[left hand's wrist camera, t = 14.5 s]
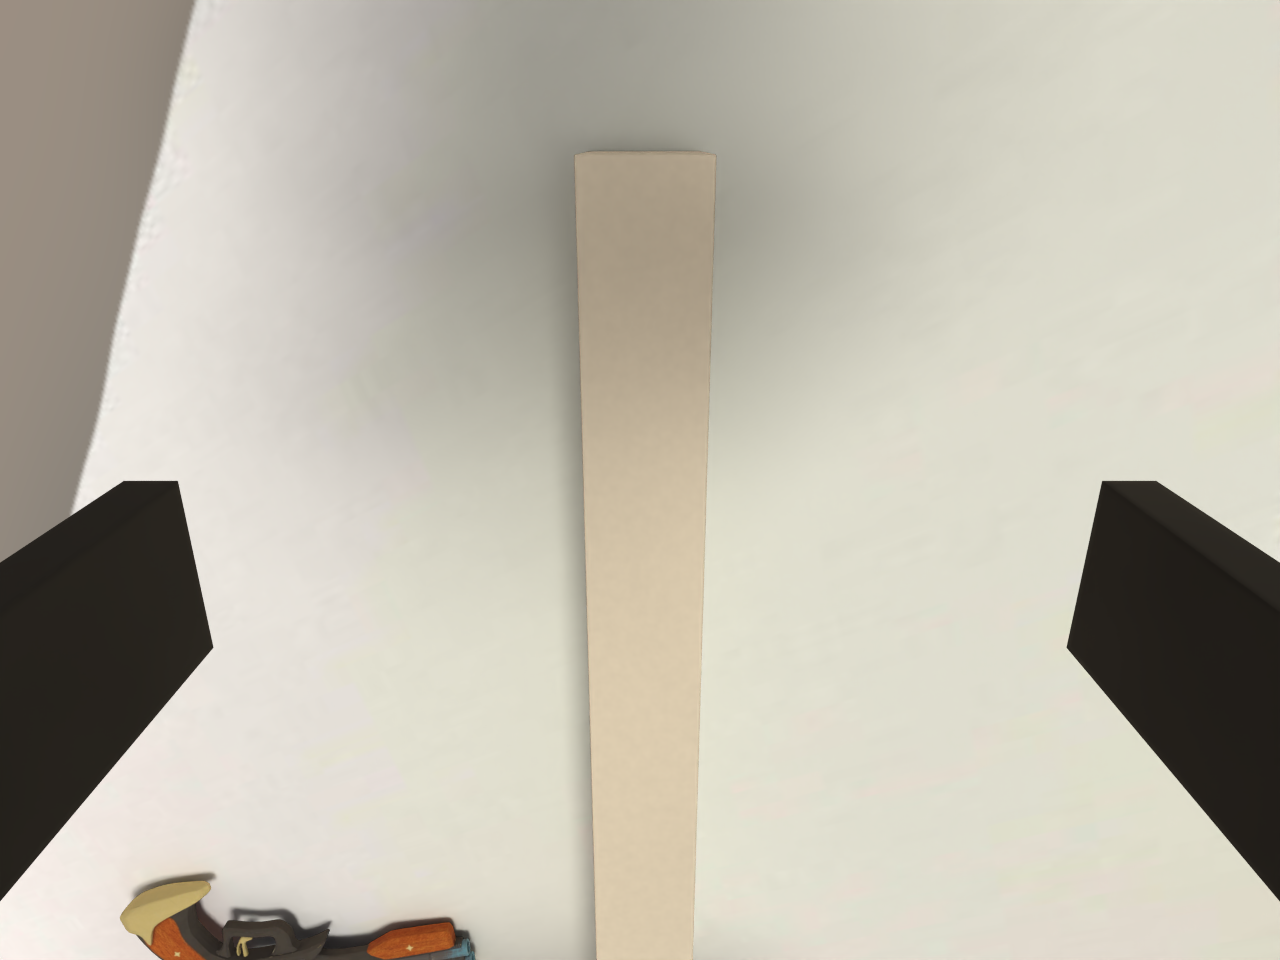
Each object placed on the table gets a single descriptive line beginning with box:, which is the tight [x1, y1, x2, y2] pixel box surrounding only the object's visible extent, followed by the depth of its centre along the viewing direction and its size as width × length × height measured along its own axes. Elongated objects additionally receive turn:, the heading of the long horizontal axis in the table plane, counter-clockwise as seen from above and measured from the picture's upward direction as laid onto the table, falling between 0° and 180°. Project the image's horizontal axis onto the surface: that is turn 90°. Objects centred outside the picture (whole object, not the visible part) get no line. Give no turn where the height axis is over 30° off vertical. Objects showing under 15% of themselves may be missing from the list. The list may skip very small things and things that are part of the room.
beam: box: [574, 151, 716, 960], centre depth 42 cm, size 51×5×8 cm, turn 0°
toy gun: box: [120, 881, 475, 960], centre depth 51 cm, size 3×19×10 cm
